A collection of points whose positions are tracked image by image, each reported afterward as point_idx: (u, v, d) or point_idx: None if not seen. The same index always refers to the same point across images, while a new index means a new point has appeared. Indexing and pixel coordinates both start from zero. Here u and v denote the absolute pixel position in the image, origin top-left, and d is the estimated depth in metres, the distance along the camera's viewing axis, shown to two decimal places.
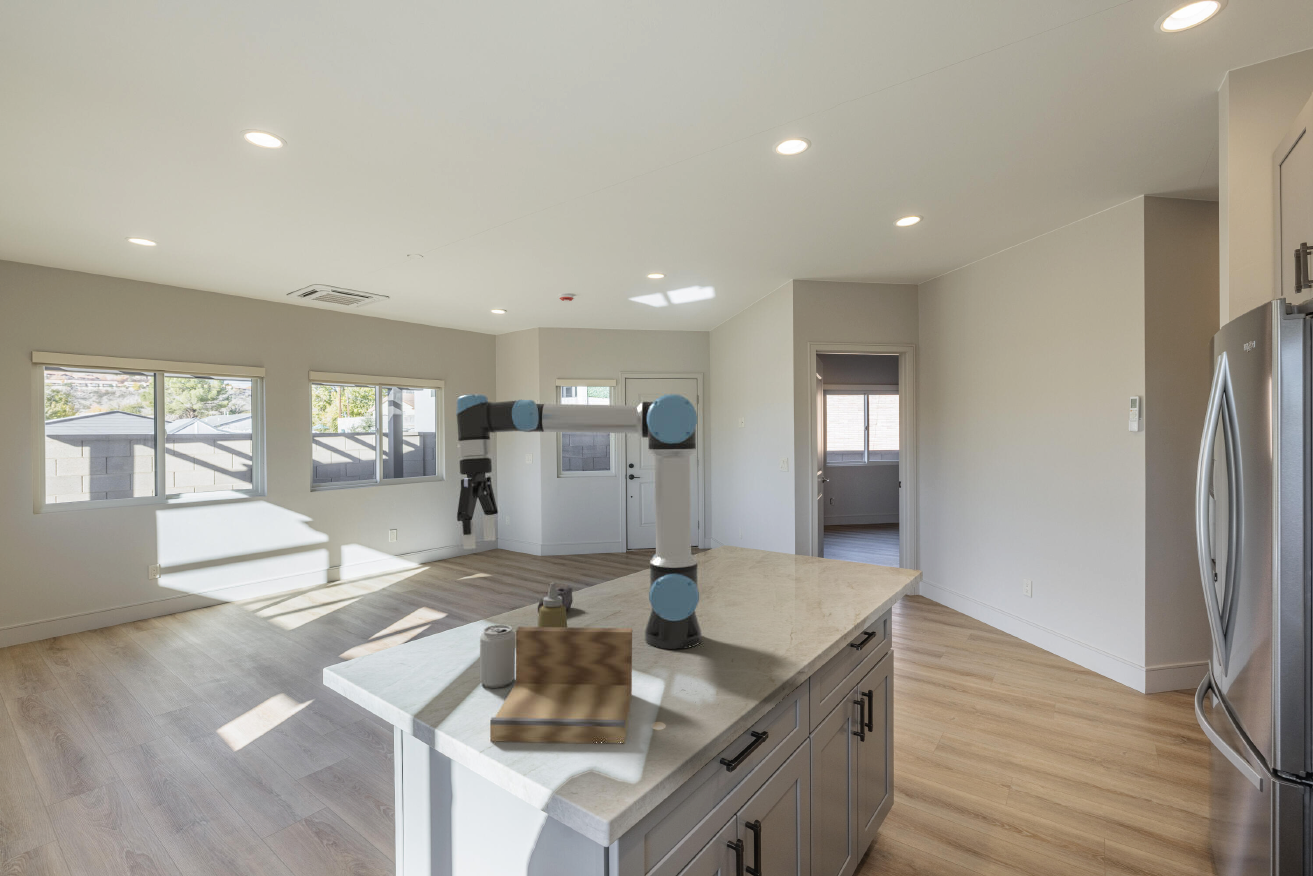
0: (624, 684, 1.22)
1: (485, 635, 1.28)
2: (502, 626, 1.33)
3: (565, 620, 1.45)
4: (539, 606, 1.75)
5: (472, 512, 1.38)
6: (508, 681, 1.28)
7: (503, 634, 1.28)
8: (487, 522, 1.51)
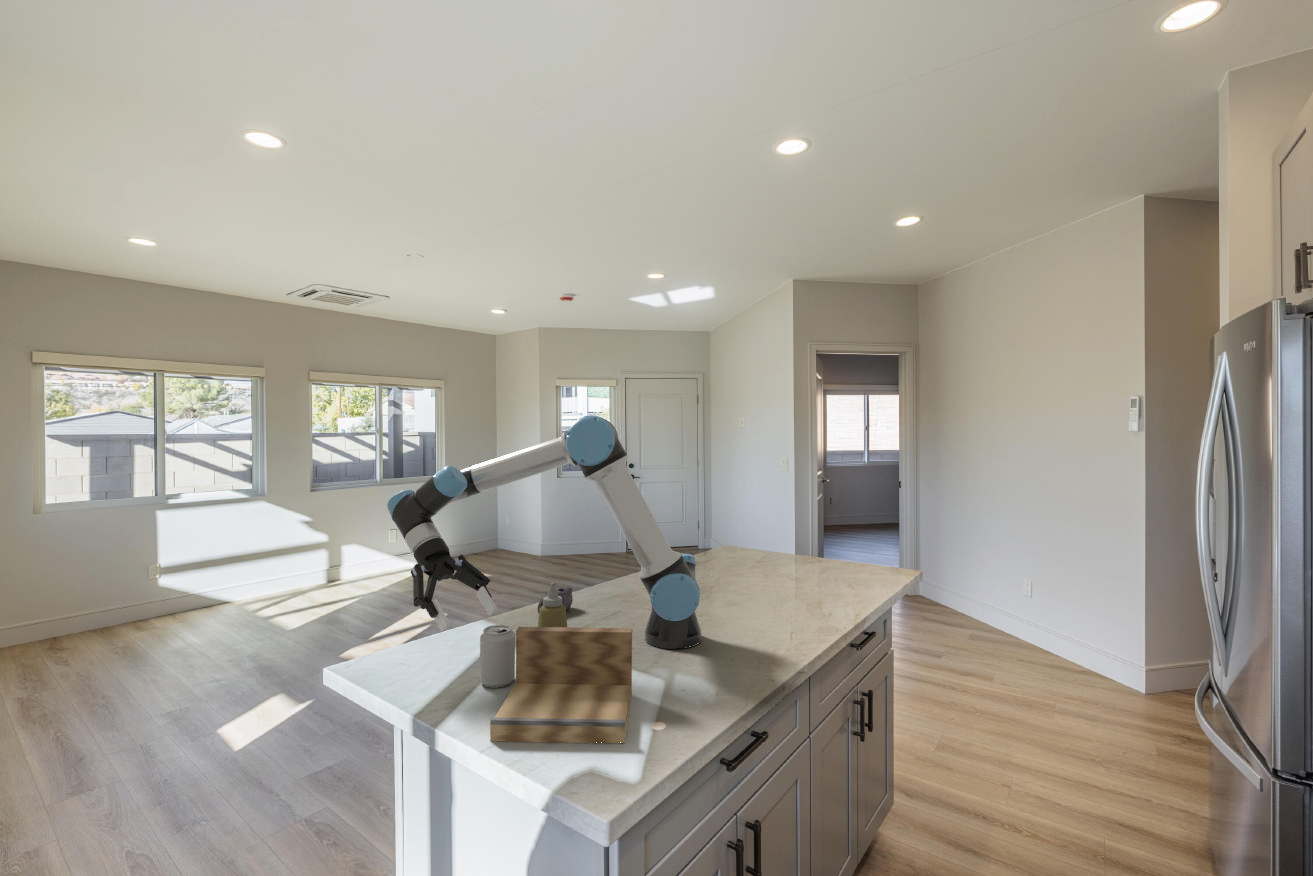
0: (624, 684, 1.22)
1: (485, 635, 1.28)
2: (502, 626, 1.33)
3: (565, 620, 1.45)
4: (539, 606, 1.75)
5: (430, 593, 1.31)
6: (508, 681, 1.28)
7: (503, 634, 1.28)
8: (481, 596, 1.41)
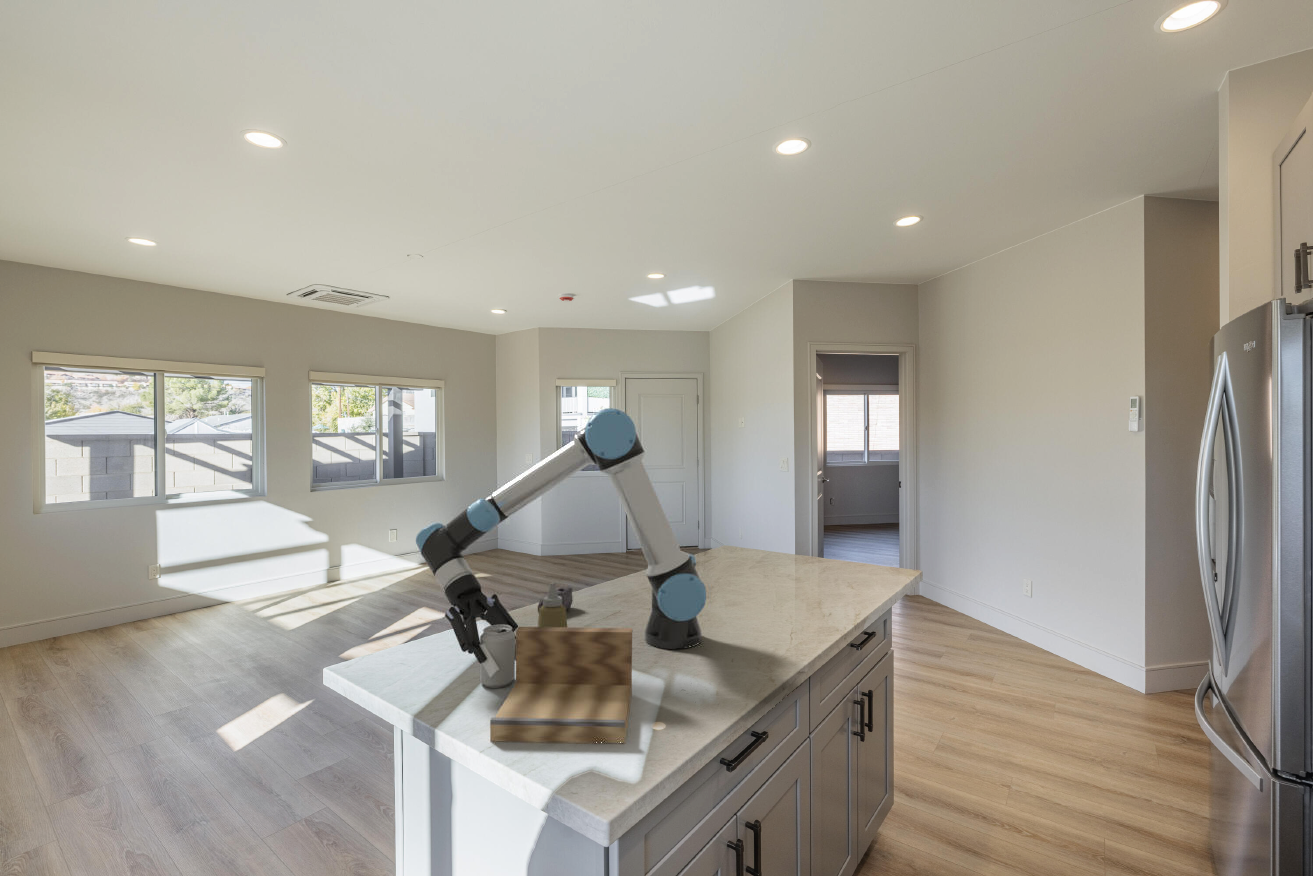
0: (624, 684, 1.22)
1: (485, 635, 1.28)
2: (502, 626, 1.33)
3: (565, 620, 1.45)
4: (539, 606, 1.75)
5: (476, 637, 1.27)
6: (508, 681, 1.28)
7: (503, 634, 1.28)
8: None
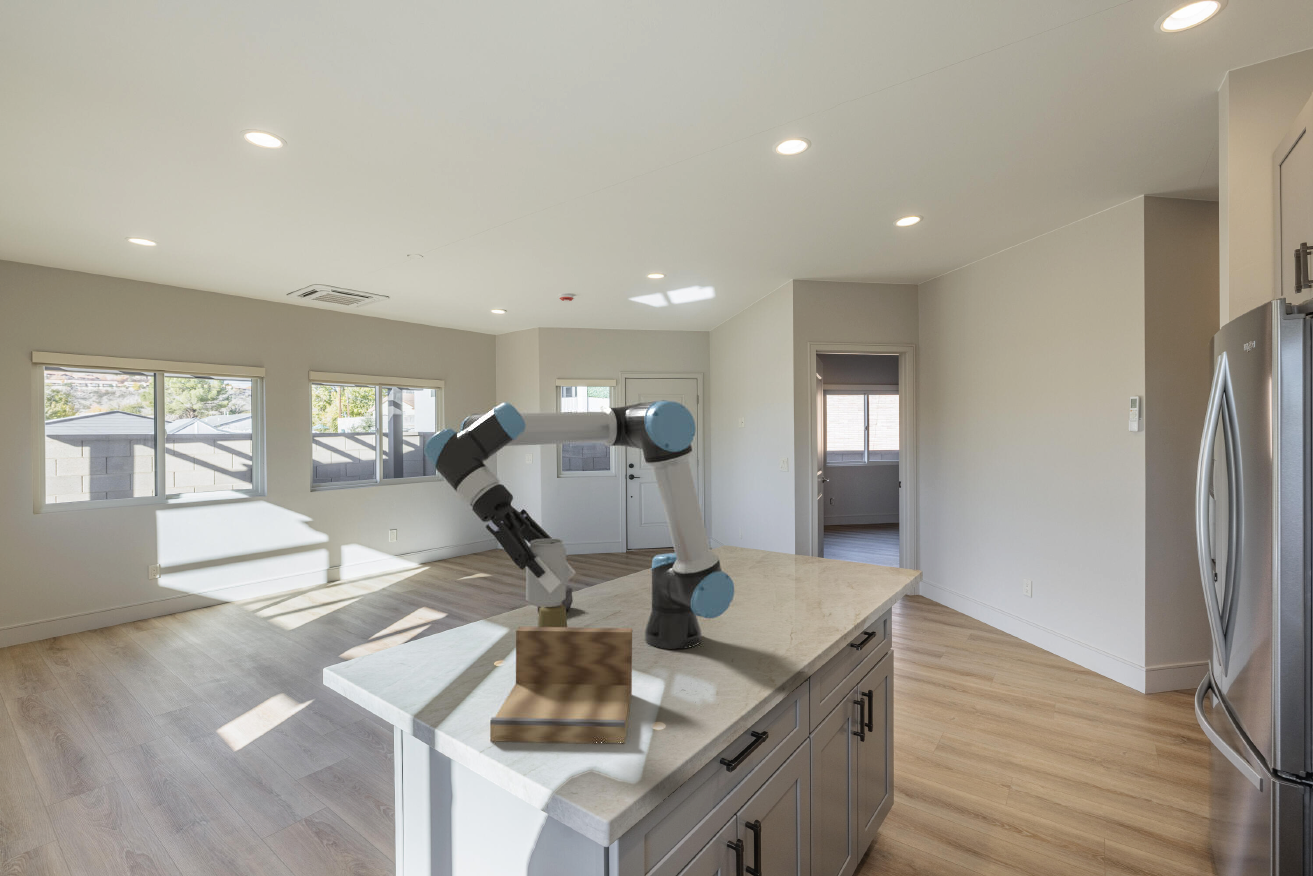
0: (624, 684, 1.22)
1: (537, 547, 1.11)
2: (546, 540, 1.16)
3: (565, 620, 1.45)
4: None
5: (528, 549, 1.09)
6: (563, 598, 1.13)
7: (558, 545, 1.12)
8: None
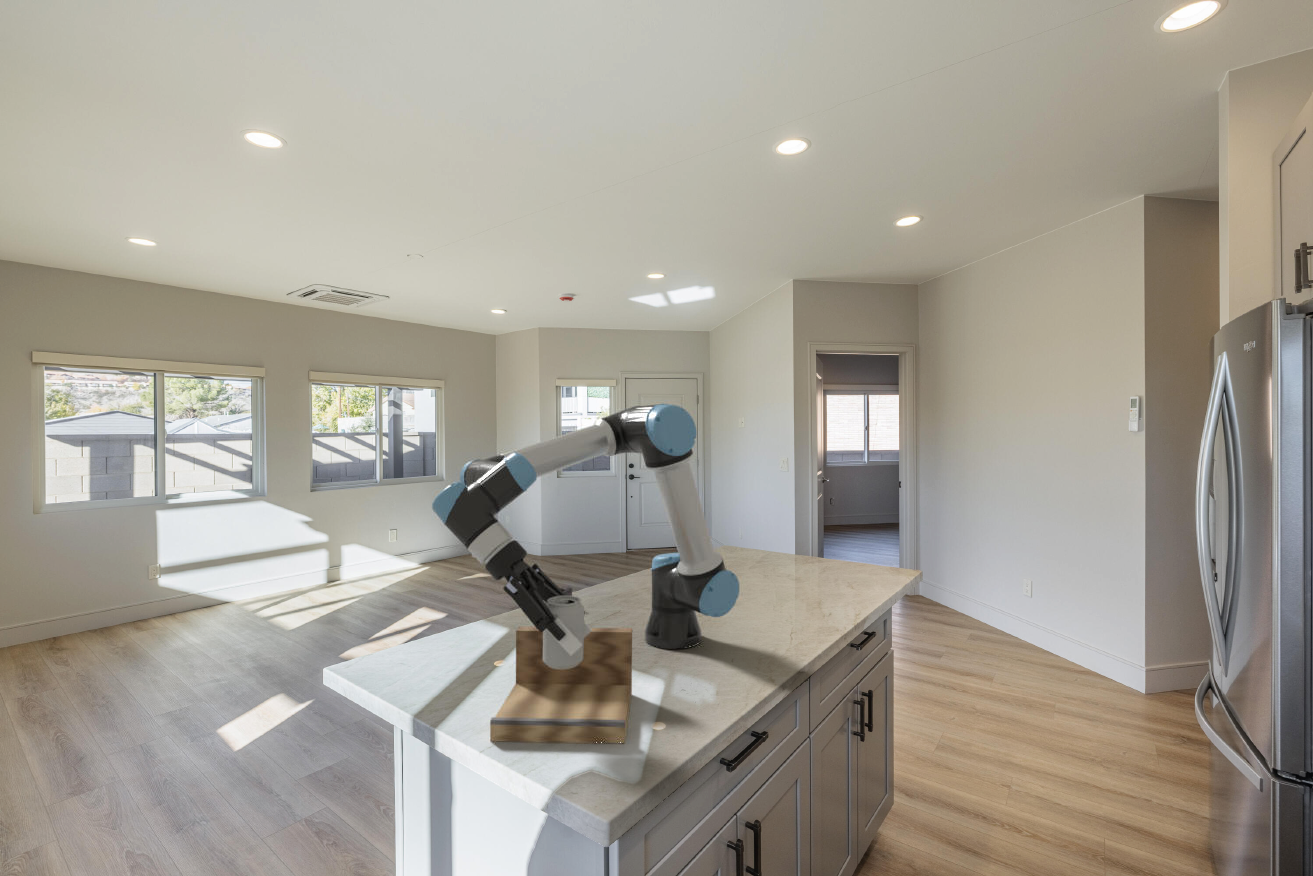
0: (624, 684, 1.22)
1: (556, 608, 1.07)
2: (562, 597, 1.12)
3: None
4: None
5: (548, 611, 1.06)
6: (582, 658, 1.09)
7: (577, 604, 1.08)
8: None
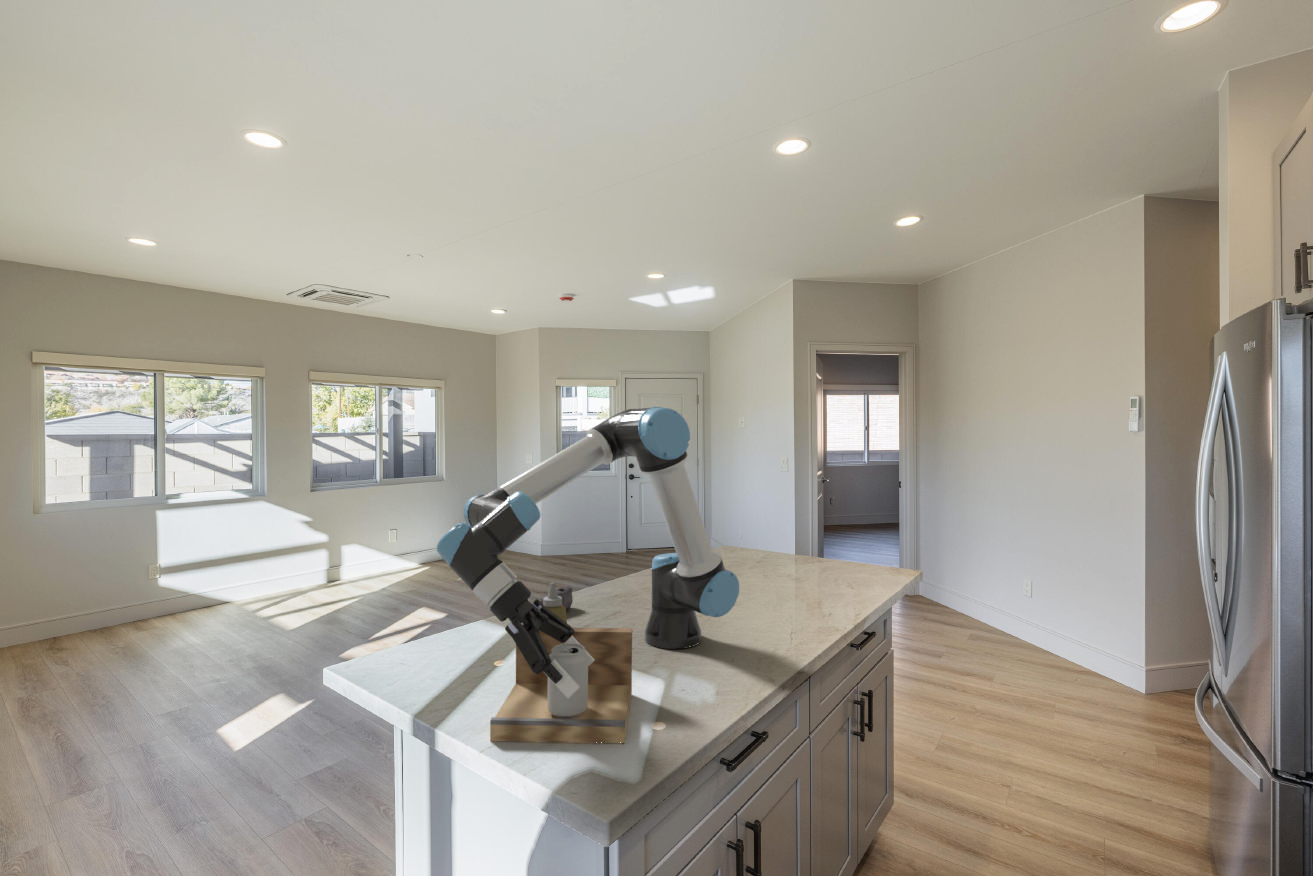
0: (624, 684, 1.22)
1: (560, 658, 1.07)
2: (566, 645, 1.13)
3: (565, 620, 1.45)
4: None
5: (545, 652, 1.04)
6: (586, 707, 1.10)
7: (581, 653, 1.09)
8: None
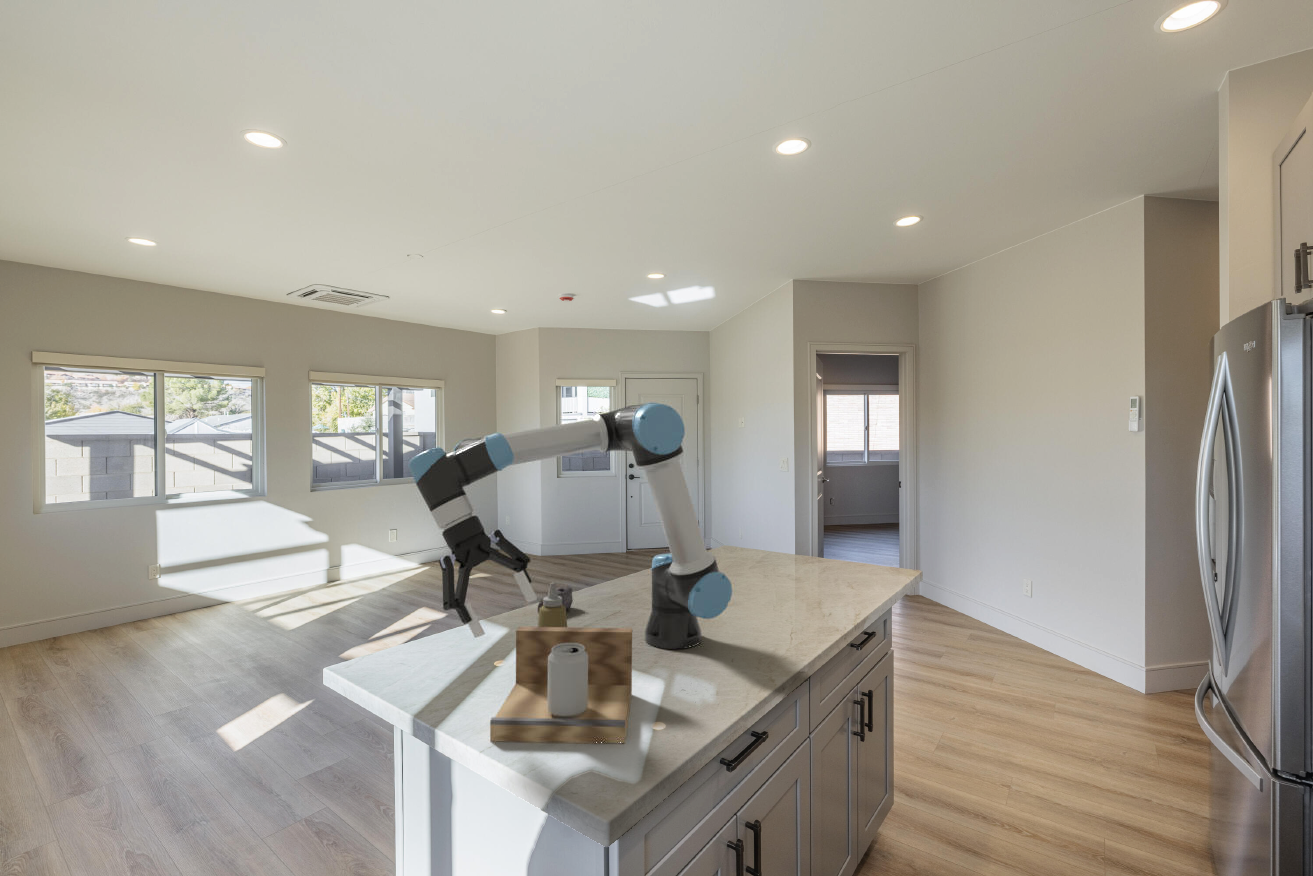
0: (624, 684, 1.22)
1: (560, 657, 1.08)
2: (566, 645, 1.13)
3: (565, 620, 1.45)
4: (539, 606, 1.75)
5: (462, 595, 1.12)
6: (586, 707, 1.10)
7: (581, 653, 1.09)
8: (520, 581, 1.23)
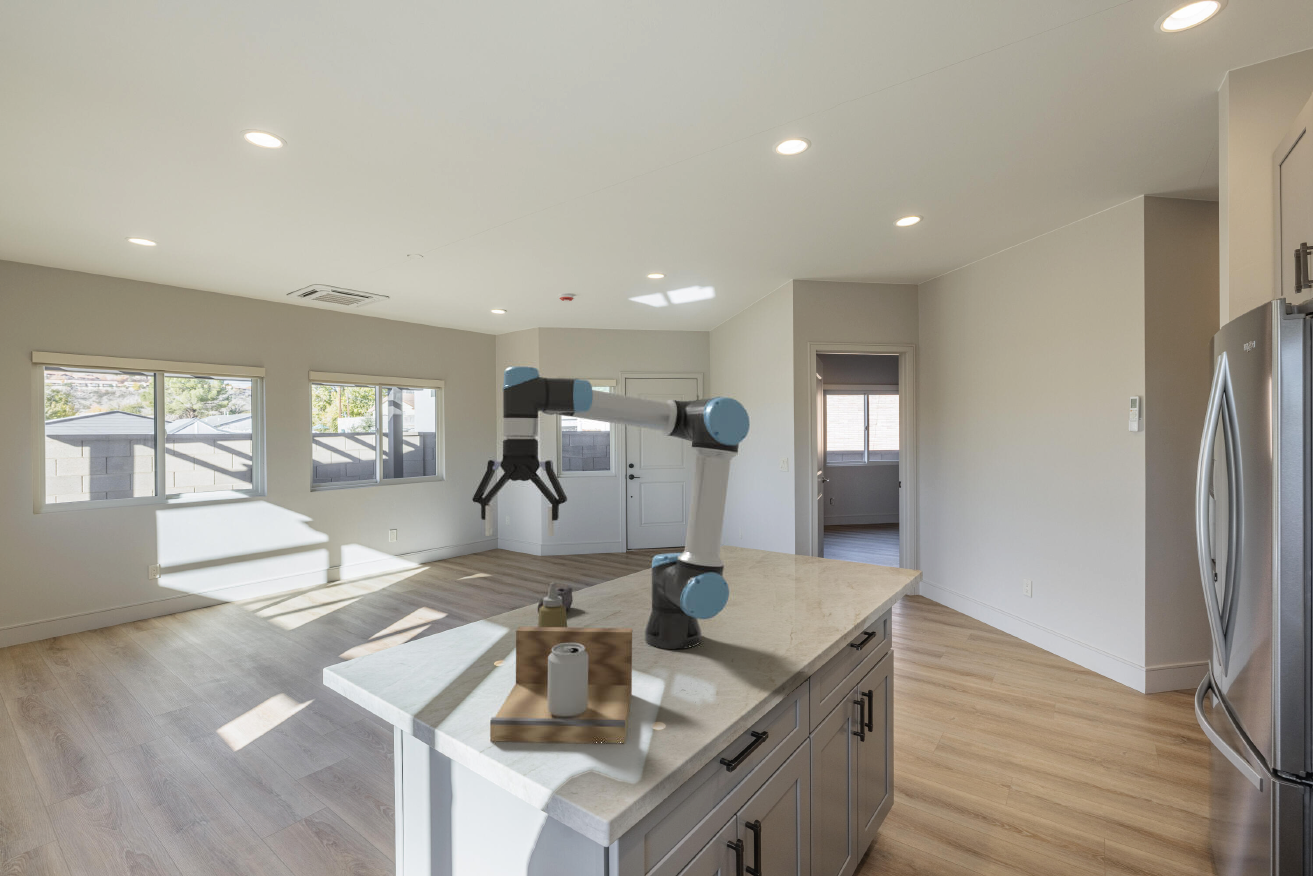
0: (624, 684, 1.22)
1: (560, 657, 1.08)
2: (566, 645, 1.13)
3: (565, 620, 1.45)
4: (539, 606, 1.75)
5: (487, 497, 1.28)
6: (586, 707, 1.10)
7: (581, 653, 1.09)
8: None
